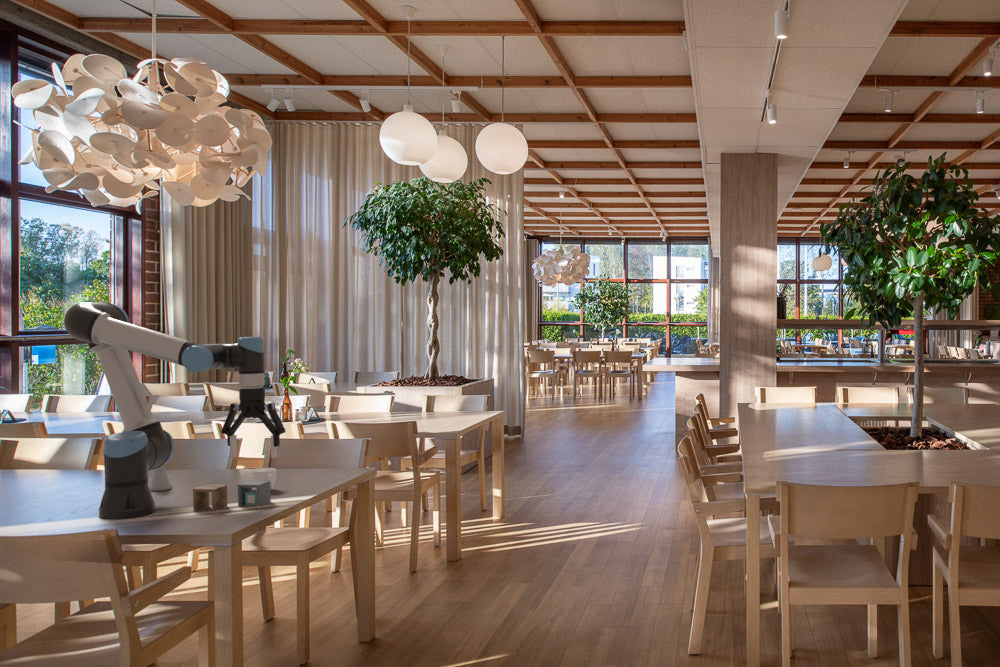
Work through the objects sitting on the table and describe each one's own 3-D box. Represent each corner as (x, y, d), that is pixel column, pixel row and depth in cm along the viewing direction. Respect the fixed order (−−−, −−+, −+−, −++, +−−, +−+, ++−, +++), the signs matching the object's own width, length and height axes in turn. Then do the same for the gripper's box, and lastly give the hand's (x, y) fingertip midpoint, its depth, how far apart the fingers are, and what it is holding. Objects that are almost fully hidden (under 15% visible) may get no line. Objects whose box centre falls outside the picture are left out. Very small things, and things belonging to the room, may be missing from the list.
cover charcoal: (259, 506, 261) (258, 485, 261) (238, 506, 263) (237, 484, 263) (270, 501, 268) (270, 480, 268) (249, 501, 270) (249, 480, 270)
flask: (164, 491, 288) (163, 461, 288) (144, 491, 289) (143, 461, 289) (176, 487, 295) (175, 458, 295) (157, 487, 296) (156, 457, 296)
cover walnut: (214, 511, 256) (214, 489, 256) (193, 510, 257) (193, 488, 257) (227, 506, 263) (227, 484, 263) (206, 505, 264) (206, 484, 264)
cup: (271, 486, 293) (271, 466, 293) (282, 491, 285) (282, 470, 285) (248, 489, 288) (248, 469, 288) (259, 494, 280) (259, 473, 280)
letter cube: (257, 505, 263) (256, 492, 263) (245, 505, 264) (244, 491, 264) (263, 503, 267) (263, 489, 267) (251, 502, 268) (251, 489, 268)
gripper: (295, 386, 266) (297, 455, 266) (221, 386, 272) (223, 454, 272) (283, 388, 259) (285, 459, 259) (208, 388, 264) (210, 458, 265)
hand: (253, 457), depth 265 cm, fingers open, 13 cm apart
